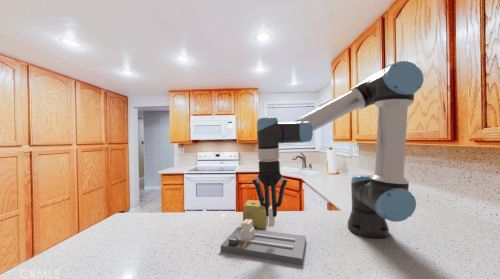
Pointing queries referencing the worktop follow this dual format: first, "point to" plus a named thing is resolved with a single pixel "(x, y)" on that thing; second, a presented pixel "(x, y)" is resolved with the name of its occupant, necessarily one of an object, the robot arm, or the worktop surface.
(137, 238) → the worktop surface
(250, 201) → the cheese
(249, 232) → the fader
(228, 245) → the console
